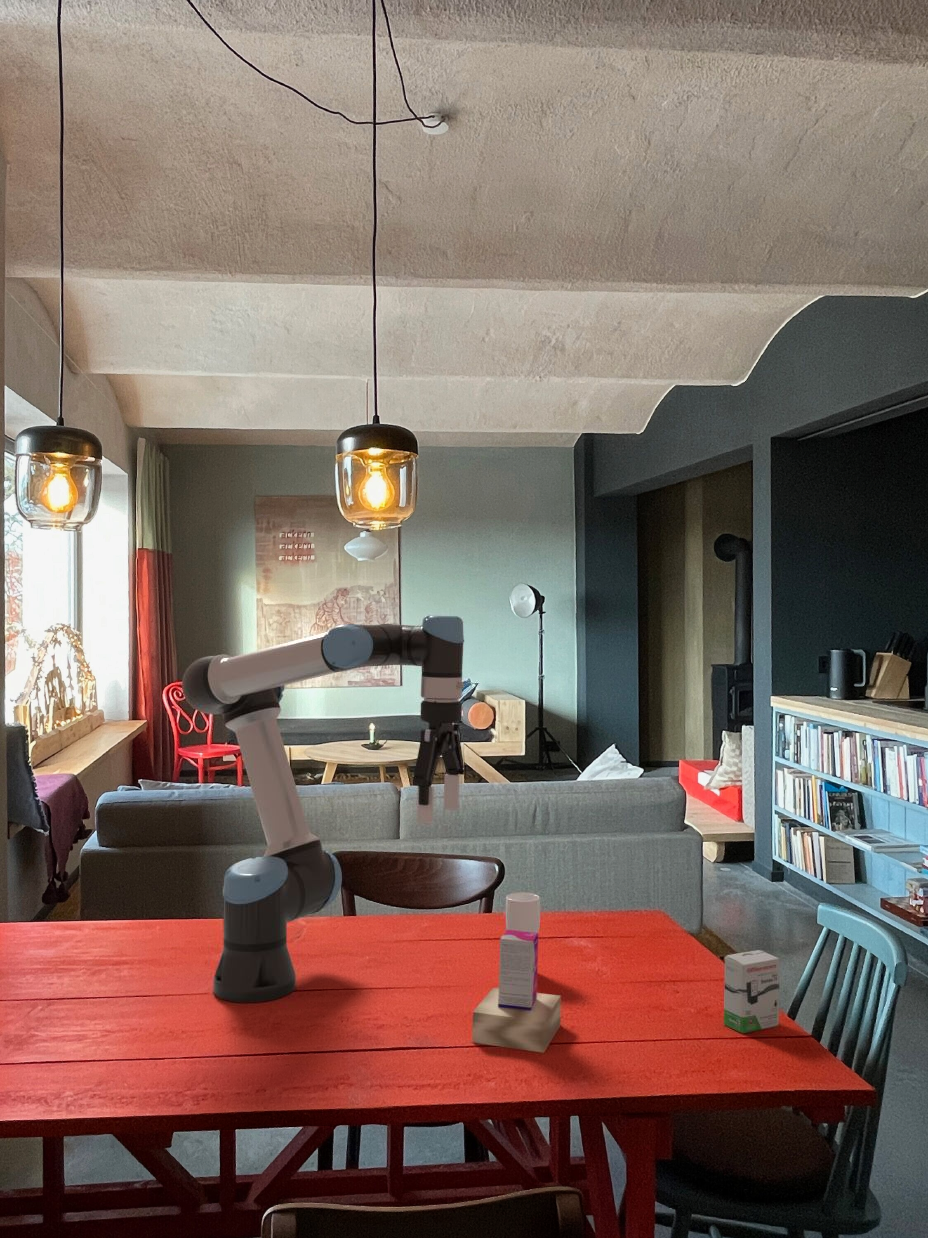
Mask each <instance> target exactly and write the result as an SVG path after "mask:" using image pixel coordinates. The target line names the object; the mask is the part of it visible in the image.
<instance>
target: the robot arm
mask: <svg viewBox="0 0 928 1238" xmlns="http://www.w3.org/2000/svg"><path fill="white" fill-rule="evenodd" d="M464 637H465V636H464V621H463V619H462V618H461V617H459V616H456V615H424V617H423V618H422V623H421V625H407V624H393V623H381V624H354V623H348V624H343V625H336V626H333V627H332V628H331V629H330V630H329V631H326V632H323V633H318V634H315V635H311V636H307V637H303V638H300V639H299V638H298V639H295V640H291V641H288V642H284V643H281V644H277V645H273V646H269V647H266V648H262V649H258V650H254V651H250V652H247V653H243V654H234V655H233V654H232V655H231V654H230V655H229V654H226V653H223V654H218V655H210V656H209V655H208V656H204V657H201V658H198V659H196V660H195V661H193V662H192V663H191V664H189V666H188V667H187V668H186V670H185V672H184V674H183V676H182V681H181V688H182V689H181V691H182V694H183V697H184V698H185V700H186V702H187V704H189V706H191V708H193V709H194V710H196V711H198V712H200V713H202V714H207V715H222V719H223V723H224V726H225V728H227V729H229V730H230V731H233V732H234V733H235V736H236V739H237V743H238V746H239V751H240V753H241V757H242V760H243V764H244V768H245V771H246V774H247V778H248V782H249V786H250V788H251V792H252V795H253V798H254V799H253V800H254V802H255V805H256V809H257V813H258V815H259V820H260V822H261V826H262V830H263V832H264V836H265V837H264V838H265V840H266V843H267V848H266V850H265V852H264V854H263V856H256V857H255V858H252V857H250V858H247V859H243V860H240V861H238V862H235V863H234V864H232V865H231V866H230V867H229V868H228V869H227V870H226V872H225V874H224V877H223V878H224V880H223V887H222V896H223V897H222V898H223V899H222V903H223V906H222V907H223V911H222V912H223V913H222V914H223V916H222V917H223V919H222V920H223V921H222V923H223V924H222V925H223V926H222V927H223V932H222V933H223V934H222V936H223V942H222V943H223V944H222V945H223V946H222V952H221V954H220V958H219V961H218V965H217V966H216V970H215V973H214V977H213V982H212V983H213V989H212V990H213V994H214V995H215V996H216V997H218V998H220V999H222V1000H224V1001H230V1002H234V1003H261V1002H268V1001H272V1000H276V999H280V998H283V997H285V996H287V995H289V994H291V993H292V992H293V991H294V990H295V989H296V987H297V985H296V984H297V981H296V980H297V979H296V978H297V976H296V970H295V968H294V965H293V961H292V959H291V955H290V951H289V948H288V944H287V943H288V941H287V937H288V936H287V935H288V932H287V928H288V925H287V924H288V923H289V922H292V921H295V920H298V919H301V918H303V917H306V916H308V915H311V914H315V913H319V912H320V911H322V910H323V909H325V908H327V907H329V906H330V905H331V904H332V903H333V902H334V901H335V900H336V898H337V897H338V894H339V893H340V891H341V887H342V881H343V878H342V877H343V876H342V869H341V866H340V863H339V861H338V859H337V858H336V856H335V855H333V854H332V853H331V852H330V851H328V850H327V849H324V848H323V846H322V842H321V840H320V837H318V836H316V835H315V834H313V833H311V832H310V829H309V825H308V823H307V820H306V816H305V812H304V809H303V806H302V802H301V799H300V795H299V792H298V789H297V786H296V782H295V779H294V775H293V772H292V768H291V765H290V762H289V759H288V755H287V752H286V748H285V745H284V742H283V739H282V735H281V732H280V727H279V725H278V722H277V720H278V717H279V715H280V713H281V711H282V708H281V705H280V703H281V701H282V699H283V696H284V694H283V692H284V691H285V686H286V685H290V684H295V683H299V682H302V681H307V680H311V679H314V678H320V677H324V676H327V675H331V674H335V673H336V674H337V673H341V672H345V671H350V670H354V669H355V670H356V669H359V668H366V667H383V666H410V667H411V666H412V667H413V666H415V667H421V676H420V677H421V678H420V679H421V680H420V697H421V699H423V700H422V701H421V702H420V715H419V716H420V720H421V721H422V722H425V723H428V729H424V728H423V729H422V728H421V731H420V743H419V747H418V752H417V758H416V763H415V768H414V773H413V778H412V785H413V786H415V787H417V812H416V813H417V815H416V822H417V823H418V824H419V823H421V824H428V825H429V824H430V825H432V824H434V801H435V800H434V799H435V797H434V796H435V795H434V794H435V793H434V791H435V786H433V782H434V777H435V774H436V771H437V767H438V764H439V760H440V757H442V761H443V764H444V767H445V772H446V774H444V782H443V783H444V785H443V787H444V788H443V810H448V811H450V810H452V811H458V810H459V807H460V806H459V803H460V800H459V799H460V798H459V797H460V775H464V774H465V769H464V768H465V766H464V765H465V764H464V758H463V751H462V745H461V744H462V743H461V737H460V724H459V722H461V721H462V718H463V717H462V712H463V711H462V709H463V705H462V704H463V703H462V702H461V698H462V696H463V694H462V693H463V688H465V682H463V660H464V659H463V657H464V643H465V638H464ZM417 823H416V824H417Z"/></svg>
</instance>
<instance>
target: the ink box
mask: <svg viewBox="0 0 928 1238" xmlns="http://www.w3.org/2000/svg"><path fill="white" fill-rule="evenodd" d="M780 963H781V959H780V958H778V957H777V956H775V955H772V954H769V953H768V952H766V951H764V950H760V949H757V950H751V951H746V952H743V951H742V952H738V953H733V954H727V955H726V956H725V957H724V990H723V991H724V992H723V993H724V994H723V996H724V997H723V1009H724V1010H723V1026H726V1027H728V1028H730V1029H732V1030H735V1031H736V1032H738V1033H741V1034H748V1033H752V1032H756V1031H760V1030H761V1031H762V1030H765V1029H769V1028H773V1027H778V1026H779V1025H780V1024H779V1022H780V1021H779V1019H780V976H781V975H780V972H781V970H780V968H781V967H780V966H781V964H780Z"/></svg>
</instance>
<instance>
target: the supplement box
mask: <svg viewBox="0 0 928 1238" xmlns="http://www.w3.org/2000/svg"><path fill="white" fill-rule="evenodd" d="M538 959H539V935H538V933H535V932H524V931H515V930H506V931H505V932H504V933H503V935H502V936H501V937H500V939H499V963H498V965H499V966H498V988H499V995H498V1007H499V1008H509V1009H519V1010H531V1009H532V1006H533V1004H534V1002H535V1000H536V999H537V993H538V992H537V991H538V966H539V965H538V963H539V962H538Z"/></svg>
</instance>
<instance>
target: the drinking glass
mask: <svg viewBox="0 0 928 1238" xmlns="http://www.w3.org/2000/svg"><path fill="white" fill-rule="evenodd" d="M540 921H541V898H540V896H539V895H537V894H536V893H530V892H513V893H510V894H507V895H506V896H505V926H506V930H515V931H524V932H535V933H538V936H539V935H540V934H539V933H540V925H541V924H540V923H541V922H540Z"/></svg>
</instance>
